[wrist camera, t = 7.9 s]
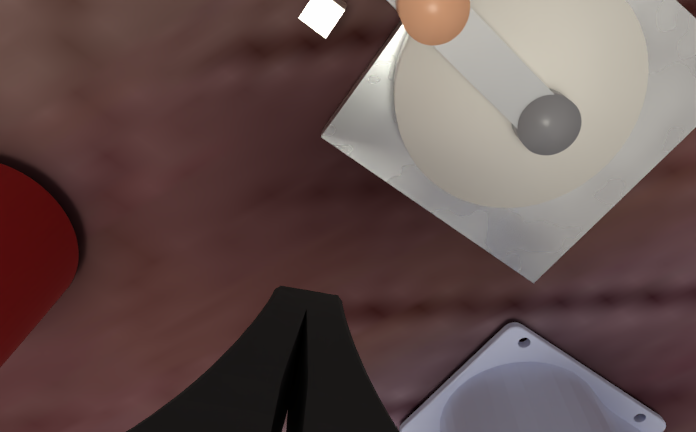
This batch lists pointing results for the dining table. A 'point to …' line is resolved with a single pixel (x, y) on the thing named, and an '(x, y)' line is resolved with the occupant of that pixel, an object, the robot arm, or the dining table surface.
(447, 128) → the white lever switch
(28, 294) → the beverage can
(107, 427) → the dining table surface
